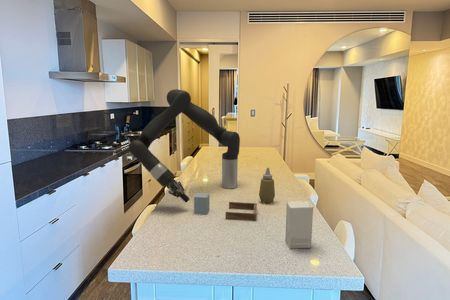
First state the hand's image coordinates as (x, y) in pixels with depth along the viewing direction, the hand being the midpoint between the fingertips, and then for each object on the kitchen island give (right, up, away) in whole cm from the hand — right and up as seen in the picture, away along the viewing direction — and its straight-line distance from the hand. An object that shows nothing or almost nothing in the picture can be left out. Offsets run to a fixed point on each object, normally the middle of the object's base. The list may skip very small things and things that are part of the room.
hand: (187, 200), depth 140 cm
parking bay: (+24, -6, -2) cm, 25 cm away
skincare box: (+44, -11, -31) cm, 55 cm away
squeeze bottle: (+39, -3, +14) cm, 41 cm away
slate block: (+7, -5, 0) cm, 8 cm away
